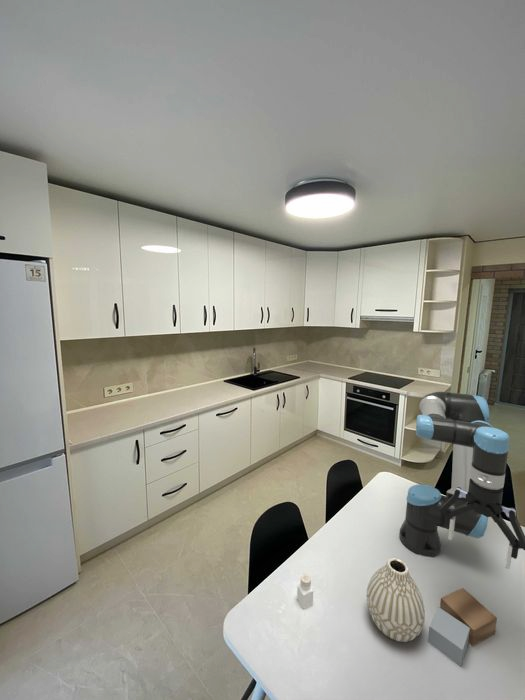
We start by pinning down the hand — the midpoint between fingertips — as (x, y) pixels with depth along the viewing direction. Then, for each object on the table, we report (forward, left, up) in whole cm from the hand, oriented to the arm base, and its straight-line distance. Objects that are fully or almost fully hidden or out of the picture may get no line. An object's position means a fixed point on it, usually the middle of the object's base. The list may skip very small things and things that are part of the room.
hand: (477, 550), depth 84 cm
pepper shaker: (-38, -31, -26) cm, 55 cm away
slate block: (-3, -10, -26) cm, 28 cm away
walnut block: (-1, 0, -26) cm, 26 cm away
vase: (-16, -16, -26) cm, 34 cm away
